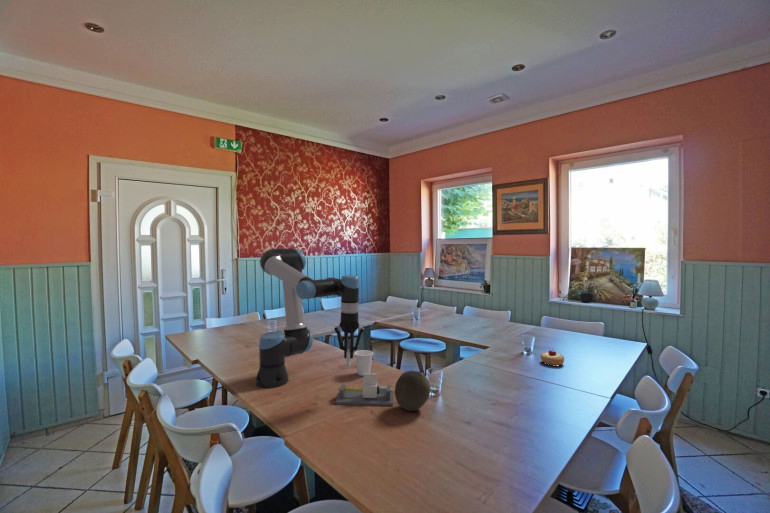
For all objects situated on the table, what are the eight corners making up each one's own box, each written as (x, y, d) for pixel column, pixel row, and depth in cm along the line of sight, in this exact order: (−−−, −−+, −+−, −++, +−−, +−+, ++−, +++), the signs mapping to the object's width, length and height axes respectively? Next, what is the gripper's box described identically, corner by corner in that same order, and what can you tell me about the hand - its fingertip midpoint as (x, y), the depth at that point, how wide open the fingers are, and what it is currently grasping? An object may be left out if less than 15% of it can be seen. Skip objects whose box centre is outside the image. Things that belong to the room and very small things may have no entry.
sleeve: (362, 397, 152) (362, 375, 152) (363, 392, 157) (364, 371, 157) (376, 398, 152) (376, 376, 151) (377, 393, 157) (377, 371, 156)
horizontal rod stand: (335, 404, 149) (335, 390, 149) (340, 392, 161) (340, 379, 161) (392, 405, 148) (392, 392, 148) (393, 393, 160) (393, 381, 160)
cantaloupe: (420, 420, 136) (420, 381, 135) (388, 411, 143) (388, 374, 143) (435, 406, 148) (435, 370, 147) (405, 398, 155) (405, 364, 155)
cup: (370, 378, 178) (370, 356, 177) (351, 376, 180) (351, 355, 179) (375, 371, 188) (375, 350, 187) (357, 369, 190) (357, 349, 189)
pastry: (541, 366, 198) (540, 350, 198) (540, 359, 209) (540, 344, 208) (565, 368, 193) (565, 352, 193) (563, 361, 204) (563, 346, 204)
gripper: (332, 313, 150) (331, 368, 151) (363, 314, 149) (362, 369, 151) (336, 309, 158) (335, 361, 159) (365, 310, 157) (364, 363, 158)
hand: (348, 365), depth 155 cm, fingers closed
